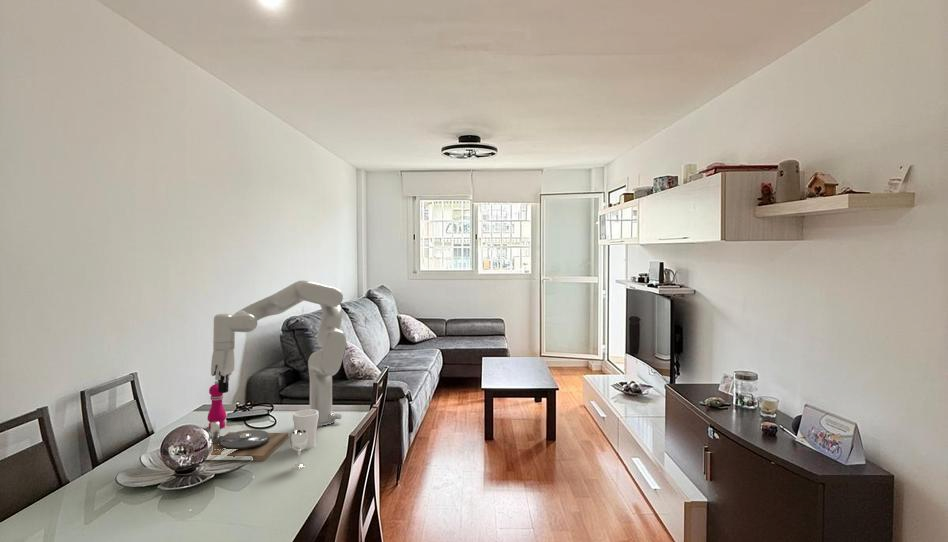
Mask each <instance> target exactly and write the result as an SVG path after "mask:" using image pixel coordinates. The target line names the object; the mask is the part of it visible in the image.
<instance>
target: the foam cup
mask: <svg viewBox="0 0 948 542" xmlns="http://www.w3.org/2000/svg"><path fill="white" fill-rule="evenodd" d="M318 418H319V412H318V411H317V410H313V409H310V408H309V409H308V408H307V409H306V408H305V409H299V410H296V411H294V412H293V413H292V421H293V425H294V426H293V427H294V431H296V430H305V431H306V433H307V437H308V444H307V446H306V448H304V449H303V450H310V449H312V448H314V447H315V444H316V436H317V429H318V426H317V423H318ZM309 448H310V449H309Z"/></svg>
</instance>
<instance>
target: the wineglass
mask: <svg viewBox="0 0 948 542" xmlns="http://www.w3.org/2000/svg"><path fill="white" fill-rule="evenodd" d="M289 441H290V447H291V449H292V450H294V451H297V457H298V460H297V463H295V464H293V465H292V468H293V469H294V470H295V469H296V470H297V469H299V470H300V469H303V467H304V468H305V467H306V464H305V463H301V460H300V459H301V458H300V457H301V455H302V454H301V451H303V450H305V449H304V448H306V446H307V444H308V437H307V433H306V431H305V430H296V431H295V430H293V431H292V432H291V435H290V440H289Z"/></svg>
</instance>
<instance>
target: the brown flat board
mask: <svg viewBox="0 0 948 542" xmlns="http://www.w3.org/2000/svg"><path fill="white" fill-rule="evenodd" d="M234 432H235V431H232V432H231V431H230V432H229V431H228V432H227V433H226V434H225V435H223V436H226V435H228V434H231V433H234ZM268 433H269V441H268V442H266V443H265V444H263V445H260V446H257V447H253V448H248V449H238V450H236V451H234V452H232V453H230V454H228V455H227V456H233V457H235V456H252V457H253V461H252V462H265V460H267V459H268V458H269V457H270V456H271V455H272V454H273V453H274V452H275V451H277V449H278V448H280V447H281V446H282V445H283V444H284V443H285V442H286V441H287V440H288V439H289V432H268ZM212 444H213V452H212V453H211V455H221V452H222V451H223V450H224V449H223V447H221V445H220V442H213V443H212ZM218 444H219V445H218ZM214 449H216V450H214ZM217 449H219V450H220V449H221V450H220V451H219V450H217ZM222 449H223V450H222Z"/></svg>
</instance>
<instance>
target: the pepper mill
mask: <svg viewBox="0 0 948 542" xmlns="http://www.w3.org/2000/svg"><path fill="white" fill-rule="evenodd" d="M208 390H209V391H208V393H209V395H210V401H211V407H210V409H209V412H208V414H207V421H208V422H209V423H208V429H209V430H211V422H215V421H219V422H220V429H223V428H225V427H226V422H225V420H226V419H227V412H226V409H225V408H224V405H223V399H224V396H225V395H224V393H219V392H218V380H215V381H214V383H213V384H212V385H210V387H209V389H208Z"/></svg>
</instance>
